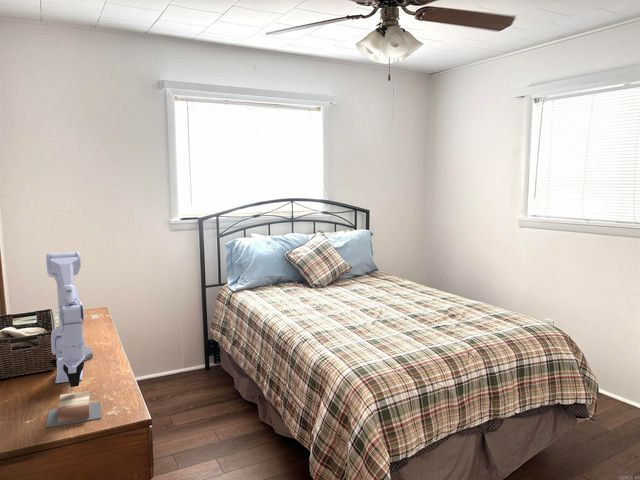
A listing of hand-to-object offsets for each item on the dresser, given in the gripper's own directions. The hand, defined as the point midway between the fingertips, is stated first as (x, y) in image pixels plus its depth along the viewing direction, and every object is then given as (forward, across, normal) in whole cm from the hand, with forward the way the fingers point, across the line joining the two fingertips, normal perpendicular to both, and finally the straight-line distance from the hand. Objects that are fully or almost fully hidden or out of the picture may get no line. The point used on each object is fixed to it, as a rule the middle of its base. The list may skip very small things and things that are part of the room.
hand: (74, 385), depth 145 cm
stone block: (+7, -38, -2) cm, 39 cm away
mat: (+6, +6, 0) cm, 9 cm away
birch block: (+4, 0, 0) cm, 4 cm away
